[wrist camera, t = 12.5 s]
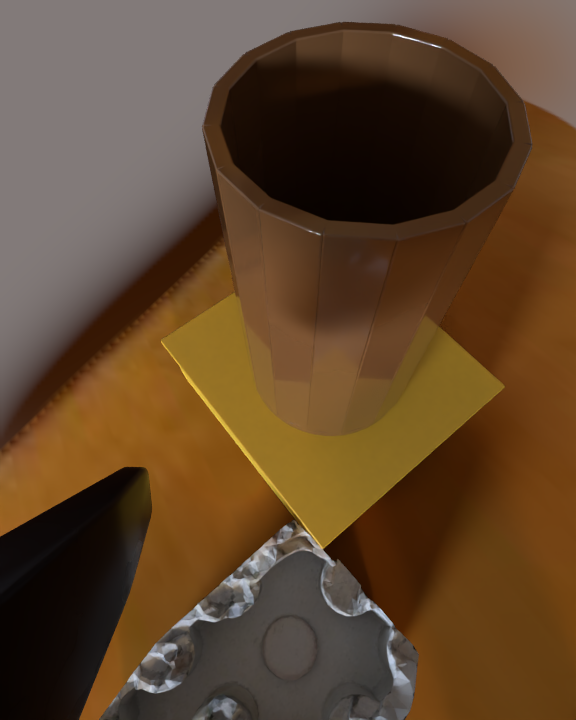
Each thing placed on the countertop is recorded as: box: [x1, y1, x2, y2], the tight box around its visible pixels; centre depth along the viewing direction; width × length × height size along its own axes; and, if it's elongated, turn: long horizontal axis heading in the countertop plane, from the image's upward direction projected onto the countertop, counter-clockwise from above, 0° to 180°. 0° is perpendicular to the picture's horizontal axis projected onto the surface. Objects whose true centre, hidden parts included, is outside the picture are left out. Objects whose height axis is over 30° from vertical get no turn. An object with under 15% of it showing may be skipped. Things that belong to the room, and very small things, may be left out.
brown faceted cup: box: [202, 22, 532, 436], centre depth 15 cm, size 7×7×12 cm
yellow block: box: [161, 292, 505, 549], centre depth 22 cm, size 11×10×4 cm
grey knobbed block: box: [99, 520, 419, 720], centre depth 17 cm, size 11×8×4 cm
